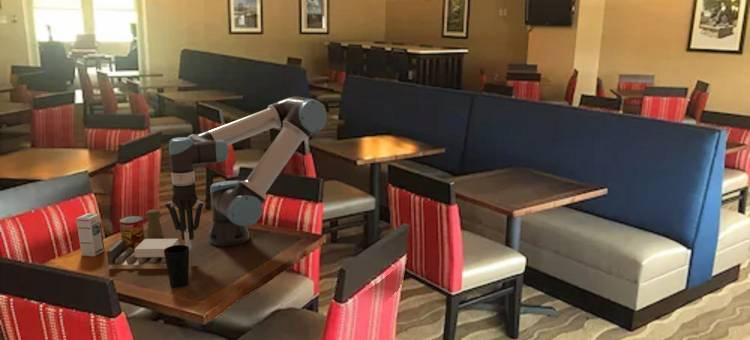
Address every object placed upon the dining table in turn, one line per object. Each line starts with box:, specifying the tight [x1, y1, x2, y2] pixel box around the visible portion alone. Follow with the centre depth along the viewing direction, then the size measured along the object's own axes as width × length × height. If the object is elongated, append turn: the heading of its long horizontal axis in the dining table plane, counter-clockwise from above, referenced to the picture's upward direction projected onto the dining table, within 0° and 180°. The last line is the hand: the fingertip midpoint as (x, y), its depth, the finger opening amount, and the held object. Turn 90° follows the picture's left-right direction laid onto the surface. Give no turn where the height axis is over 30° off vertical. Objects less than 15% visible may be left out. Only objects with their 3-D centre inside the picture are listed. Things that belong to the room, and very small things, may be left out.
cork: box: [145, 209, 164, 239], centre depth 240 cm, size 6×6×11 cm
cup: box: [164, 244, 190, 289], centre depth 196 cm, size 8×8×12 cm
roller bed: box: [106, 238, 167, 270], centre depth 215 cm, size 22×12×6 cm, turn 91°
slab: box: [134, 238, 180, 257], centre depth 215 cm, size 12×10×3 cm
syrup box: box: [75, 212, 105, 257], centre depth 223 cm, size 6×6×14 cm
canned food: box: [119, 215, 146, 252], centre depth 226 cm, size 8×8×12 cm
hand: (188, 248), depth 215 cm, fingers closed
